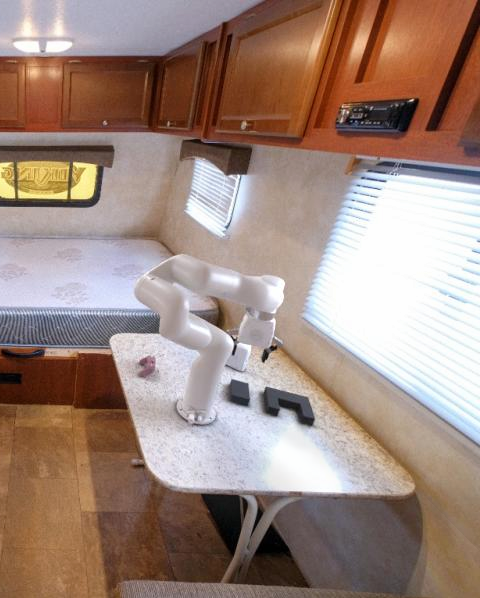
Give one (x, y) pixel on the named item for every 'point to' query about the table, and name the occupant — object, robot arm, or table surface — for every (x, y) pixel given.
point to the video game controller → (148, 365)
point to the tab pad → (239, 392)
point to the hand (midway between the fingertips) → (247, 357)
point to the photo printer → (239, 357)
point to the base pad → (288, 404)
